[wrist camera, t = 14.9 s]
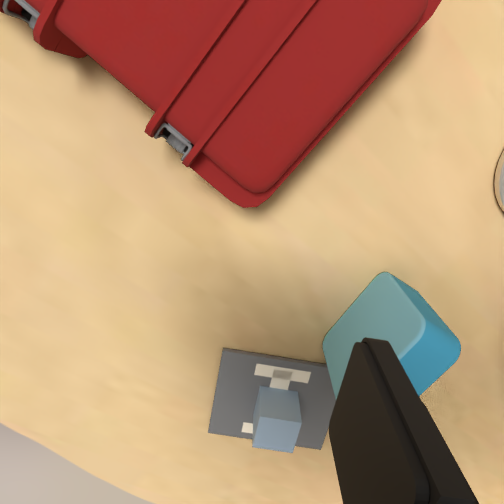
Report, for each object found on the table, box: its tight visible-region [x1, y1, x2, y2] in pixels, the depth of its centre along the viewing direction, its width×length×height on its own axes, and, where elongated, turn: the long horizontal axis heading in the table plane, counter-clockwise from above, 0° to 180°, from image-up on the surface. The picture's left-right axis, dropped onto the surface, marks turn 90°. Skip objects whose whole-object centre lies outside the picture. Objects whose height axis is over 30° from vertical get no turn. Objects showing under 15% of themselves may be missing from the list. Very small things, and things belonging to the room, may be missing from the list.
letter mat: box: [208, 348, 336, 450], centre depth 48 cm, size 16×14×1 cm
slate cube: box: [252, 386, 302, 453], centre depth 45 cm, size 5×5×5 cm
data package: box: [323, 272, 461, 399], centre depth 38 cm, size 12×4×12 cm, turn 147°
